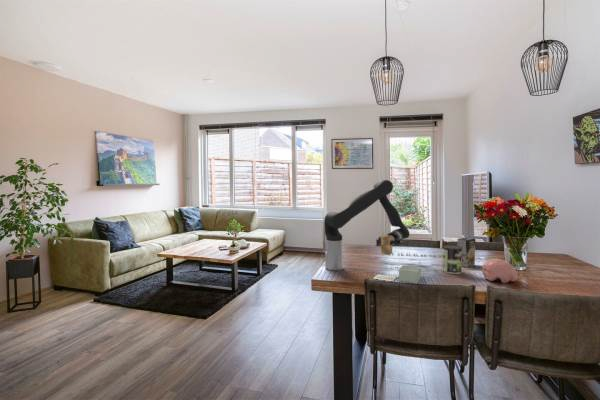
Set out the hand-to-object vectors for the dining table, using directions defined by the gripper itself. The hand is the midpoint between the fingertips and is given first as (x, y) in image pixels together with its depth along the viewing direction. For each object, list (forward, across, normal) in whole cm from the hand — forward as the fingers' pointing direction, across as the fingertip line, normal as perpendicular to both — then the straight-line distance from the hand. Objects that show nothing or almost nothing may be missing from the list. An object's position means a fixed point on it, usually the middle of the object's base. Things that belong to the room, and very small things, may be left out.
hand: (385, 242), depth 177 cm
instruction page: (+8, +2, +17) cm, 19 cm away
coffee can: (-22, +31, +17) cm, 42 cm away
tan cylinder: (-3, 0, +7) cm, 7 cm away
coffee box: (-40, +37, +17) cm, 57 cm away
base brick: (+4, +14, +17) cm, 23 cm away
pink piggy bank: (-16, +54, +17) cm, 59 cm away
